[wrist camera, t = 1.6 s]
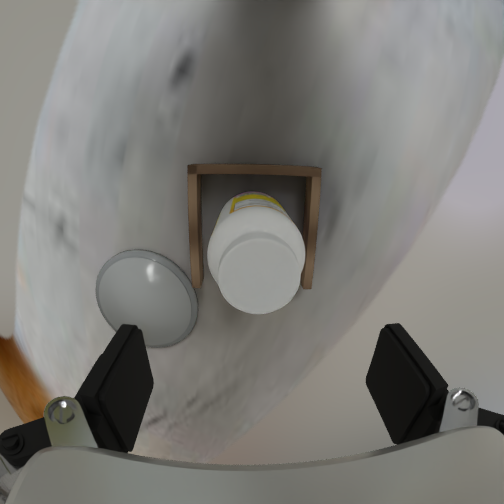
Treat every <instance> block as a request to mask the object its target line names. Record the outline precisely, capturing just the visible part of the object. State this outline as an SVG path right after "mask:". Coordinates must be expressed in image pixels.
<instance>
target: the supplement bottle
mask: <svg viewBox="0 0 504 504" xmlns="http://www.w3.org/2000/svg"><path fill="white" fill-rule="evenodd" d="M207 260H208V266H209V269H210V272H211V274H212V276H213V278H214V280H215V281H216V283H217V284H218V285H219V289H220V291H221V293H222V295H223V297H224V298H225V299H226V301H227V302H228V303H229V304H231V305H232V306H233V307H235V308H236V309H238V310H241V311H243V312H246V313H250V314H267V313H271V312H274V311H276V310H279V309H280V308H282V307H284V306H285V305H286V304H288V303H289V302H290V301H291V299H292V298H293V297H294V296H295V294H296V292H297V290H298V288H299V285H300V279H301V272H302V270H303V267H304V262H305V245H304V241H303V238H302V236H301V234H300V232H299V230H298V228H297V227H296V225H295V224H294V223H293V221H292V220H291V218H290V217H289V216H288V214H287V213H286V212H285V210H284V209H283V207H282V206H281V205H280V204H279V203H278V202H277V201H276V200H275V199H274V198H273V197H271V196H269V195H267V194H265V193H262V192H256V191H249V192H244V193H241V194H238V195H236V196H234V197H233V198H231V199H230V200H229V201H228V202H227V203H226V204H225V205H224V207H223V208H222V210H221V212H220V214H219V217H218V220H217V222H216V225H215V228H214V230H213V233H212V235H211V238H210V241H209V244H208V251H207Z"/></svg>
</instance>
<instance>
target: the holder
mask: <svg viewBox="0 0 504 504" xmlns="http://www.w3.org/2000/svg"><path fill="white" fill-rule="evenodd" d="M321 169H322V168H318V167H309V166H293V165H270V164H191V165H188V218H189V243H190V262H191V278H192V288H201V284H202V281H203V278H204V274H203V251H202V216H201V174H264V175H290V176H306V192H305V209H304V224H303V241H304V245H305V262H304V267H303V270H302V272H301V279H300V282H301V285H302V287H303V289H311V287H312V278H313V269H314V260H315V250H316V239H317V228H318V216H319V202H320V187H321Z"/></svg>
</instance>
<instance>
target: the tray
mask: <svg viewBox="0 0 504 504" xmlns="http://www.w3.org/2000/svg"><path fill="white" fill-rule="evenodd" d="M96 298H97V302H98V306H99V308H100V311H101V313H102V315H103V316H104V318H105V319H106V321H107V322H108V324H109V325H110V326H111V327H112V328H113V329H114V330H115V331H116V332H117V331H118V329H119V328H120V326H121V325H122V324H131V325H137V327H138V329H141V330H142V332H143V337H144V342H145V346H147V347H166V346H170V345H173V344H176V343H178V342H180V341H181V340H183V339H184V338H185V337H186V336H187V335H188V334H189V333H190V331H191V330H192V328H193V326H194V324H195V321H196V318H197V313H198V301H197V296H196V292H195V289H194V288H192V283H191V281H190V280H189V278H188V277H187V275H186V274H185V273H184V272H183V271H182V270H181V269H180V267H179V266H177V265H176V264H175V263H174V262H172V261H171V260H169V259H168V258H166V257H164V256H162V255H160V254H158V253H155V252H152V251H147V250H128V251H124V252H121V253H119V254H117V255H115V256H114V257H112V258H111V259H110V260H109V261H108V262H107V263H106V264H105V265H104V266H103V267H102V269H101V270H100V272H99V275H98V277H97V281H96Z"/></svg>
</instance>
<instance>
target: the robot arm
mask: <svg viewBox="0 0 504 504" xmlns="http://www.w3.org/2000/svg"><path fill="white" fill-rule="evenodd" d="M153 384H154V382H153V376H152V372H151V368H150V364H149V360H148V356H147V351H146V347H145V342H144V337H143V332H142V330H141V329H138V327H137V325H131V324H122V325H121V326H120V328H119V329H118V331H117V332H116V334H115V335H114V337H113V338H112V340H111V341H110V343H109V345H108V346H107V348H106V349H105V351H104V352H103V354H101V355H100V356H99V358H98V360H97V361H96V363H95V364H94V366H93V368H92V369H91V371H90V372H89V374H88V376H87V377H86V379H85V381H84V382H83V384H82V386H81V387H80V389H79V391H78V393H77V394H76V396H75V398H71V397H67V396H62V397H57V398H55V399H53V400H51V401H50V402H49V403H48V404H47V405H46V407H45V410H44V417H43V418H40V419H37V420H35V421H32V422H29V423H26V424H23V425H19V426H16V427H13V428H10V429H8V430H5V431H4V432H3V433H2V434H1V435H0V504H504V415H501V414H498V413H494V412H491V411H488V410H485V409H481V408H478V406H479V403H478V399H477V397H476V396H475V395H474V393H472V392H471V391H469V390H467V389H465V388H454V389H452V390H451V391H450V392H449V391H448V390H447V387H448V384H447V383H446V381H445V380H444V379H443V378H442V376H441V375H440V373H439V372H438V371H437V369H436V368H435V367H434V366H433V364H432V363H431V362H430V360H429V359H428V358H427V356H426V355H425V354H424V353H423V351H422V350H421V349H420V348H419V346H418V345H417V344H416V343H415V342H414V340H413V339H412V338H411V337H410V335H409V334H408V333H407V332H406V330H405V329H404V328H403V327H402V326H401V325H400V324H399V323H397V324H396V323H395V324H387V325H385V327H384V328H382V329H381V331H380V334H379V338H378V341H377V345H376V348H375V351H374V355H373V358H372V361H371V364H370V367H369V370H368V373H367V376H366V385H367V387H368V389H369V392H370V394H371V396H372V398H373V400H374V402H375V404H376V406H377V409H378V411H379V413H380V415H381V417H382V419H383V422H384V424H385V426H386V428H387V430H388V432H389V435H390V437H391V439H392V441H393V443H394V444H397V445H395V446H391V447H387V448H383V449H379V450H375V451H370V452H365V453H361V454H356V455H350V456H345V457H338V458H332V459H326V460H317V461H309V462H299V463H286V464H268V465H221V464H204V463H192V462H182V461H173V460H166V459H158V458H151V457H145V456H139V455H134V454H129V453H128V451H130V452H131V451H132V450H133V448H134V444H135V441H136V438H137V435H138V432H139V428H140V425H141V422H142V419H143V416H144V413H145V410H146V407H147V404H148V401H149V398H150V395H151V392H152V389H153Z"/></svg>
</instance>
